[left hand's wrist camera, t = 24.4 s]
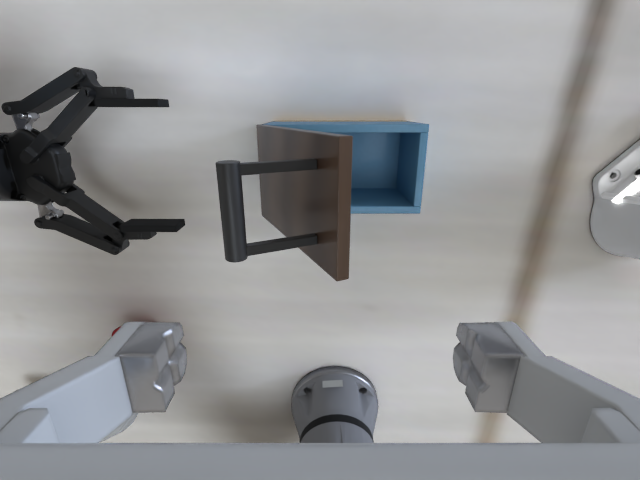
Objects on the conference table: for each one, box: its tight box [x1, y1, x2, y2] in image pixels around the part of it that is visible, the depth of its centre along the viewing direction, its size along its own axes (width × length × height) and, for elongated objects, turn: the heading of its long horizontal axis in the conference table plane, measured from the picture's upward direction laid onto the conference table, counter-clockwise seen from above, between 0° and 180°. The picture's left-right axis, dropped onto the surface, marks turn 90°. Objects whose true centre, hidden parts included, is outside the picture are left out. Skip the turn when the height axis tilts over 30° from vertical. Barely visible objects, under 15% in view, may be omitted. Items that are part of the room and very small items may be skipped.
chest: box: [262, 121, 429, 213], centre depth 44 cm, size 18×10×11 cm, turn 90°
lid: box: [216, 125, 353, 281], centre depth 30 cm, size 18×10×8 cm
